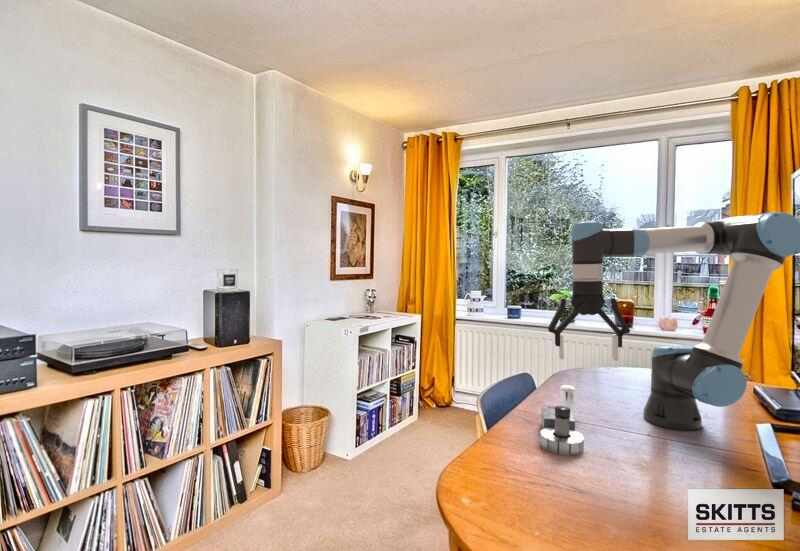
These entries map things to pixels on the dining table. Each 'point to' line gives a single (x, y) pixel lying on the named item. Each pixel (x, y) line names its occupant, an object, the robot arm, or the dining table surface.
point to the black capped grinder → (562, 421)
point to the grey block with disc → (557, 444)
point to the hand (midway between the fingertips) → (588, 358)
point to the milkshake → (567, 396)
